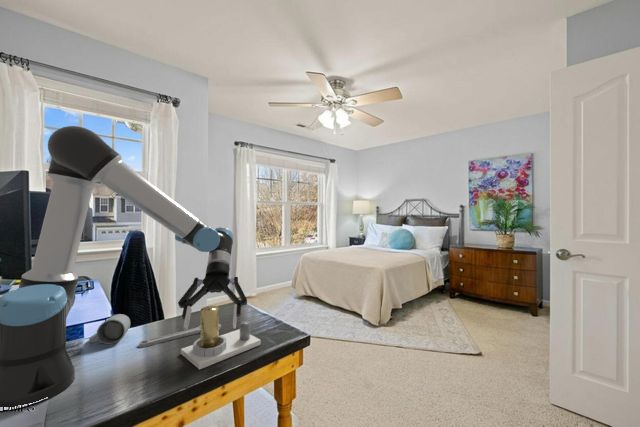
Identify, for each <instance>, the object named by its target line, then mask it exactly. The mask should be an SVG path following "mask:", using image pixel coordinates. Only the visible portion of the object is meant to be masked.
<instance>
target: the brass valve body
mask: <svg viewBox="0 0 640 427" xmlns="http://www.w3.org/2000/svg"><path fill="white" fill-rule="evenodd" d="M219 310H220V309H219V306H218V305H208V306H204V307H201V308H200V325H201V333H200V338H201V345H200V347H199V348H213V347H216V346H219V345H220V343H219V336H220V335H219V333H220V331H219V324H220V323H219V322H220V320H219V319H220V315H219V312H220V311H219Z"/></svg>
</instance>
